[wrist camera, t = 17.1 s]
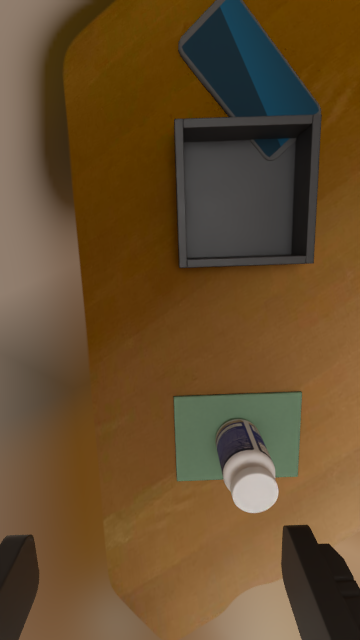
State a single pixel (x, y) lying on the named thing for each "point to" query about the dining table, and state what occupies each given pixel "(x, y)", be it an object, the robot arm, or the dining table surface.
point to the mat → (215, 410)
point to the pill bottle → (246, 466)
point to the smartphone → (245, 69)
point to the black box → (246, 191)
